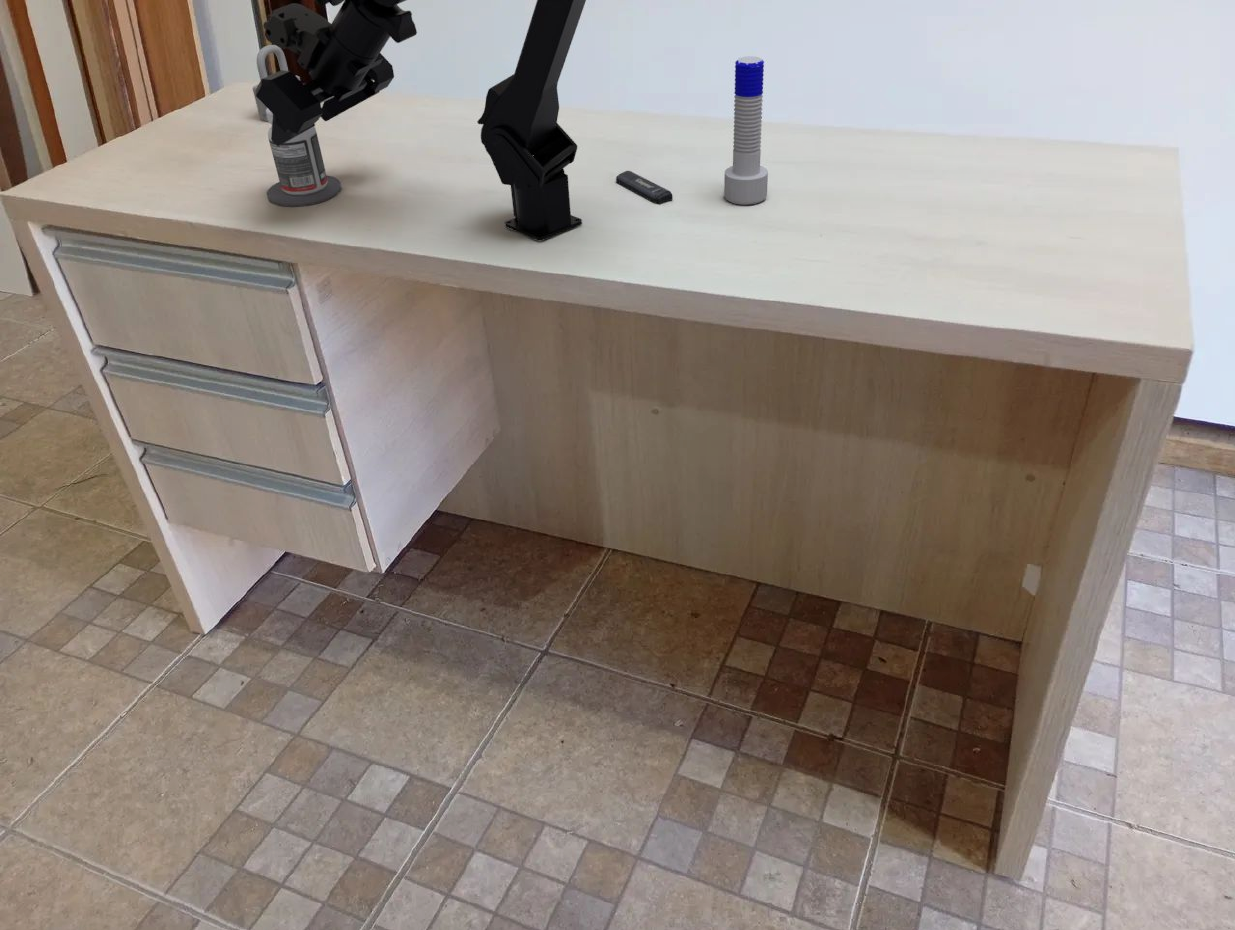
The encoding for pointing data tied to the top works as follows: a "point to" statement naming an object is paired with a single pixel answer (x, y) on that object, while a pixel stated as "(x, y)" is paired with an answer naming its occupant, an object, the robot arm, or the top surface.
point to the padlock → (263, 73)
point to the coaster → (284, 199)
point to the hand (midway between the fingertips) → (299, 130)
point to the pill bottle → (299, 162)
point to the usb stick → (644, 187)
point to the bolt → (747, 136)
